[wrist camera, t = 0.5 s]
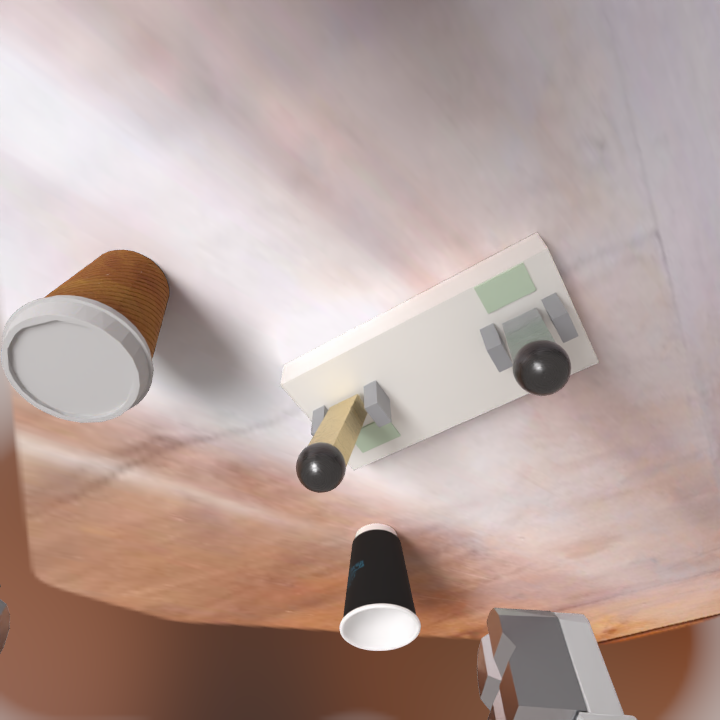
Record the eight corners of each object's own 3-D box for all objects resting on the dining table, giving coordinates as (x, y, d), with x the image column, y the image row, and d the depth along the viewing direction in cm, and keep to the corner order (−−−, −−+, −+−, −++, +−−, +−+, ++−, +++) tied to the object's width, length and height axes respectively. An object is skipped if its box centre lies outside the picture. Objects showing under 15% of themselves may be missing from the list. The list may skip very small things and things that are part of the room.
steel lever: (493, 316, 45) (504, 364, 34) (534, 296, 44) (560, 338, 33) (513, 353, 46) (530, 413, 34) (554, 334, 45) (586, 389, 33)
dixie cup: (415, 554, 67) (425, 646, 58) (348, 562, 68) (348, 655, 59) (406, 509, 63) (415, 602, 54) (334, 518, 64) (332, 611, 55)
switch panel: (283, 365, 52) (276, 407, 47) (537, 232, 45) (560, 266, 40) (353, 448, 58) (354, 494, 53) (587, 342, 51) (612, 384, 46)
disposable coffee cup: (195, 246, 45) (152, 327, 35) (183, 345, 50) (142, 439, 40) (68, 215, 44) (-15, 291, 34) (69, 321, 49) (-2, 413, 39)
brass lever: (322, 400, 50) (280, 468, 38) (356, 384, 49) (323, 448, 37) (342, 433, 50) (306, 509, 39) (375, 417, 49) (349, 490, 38)
